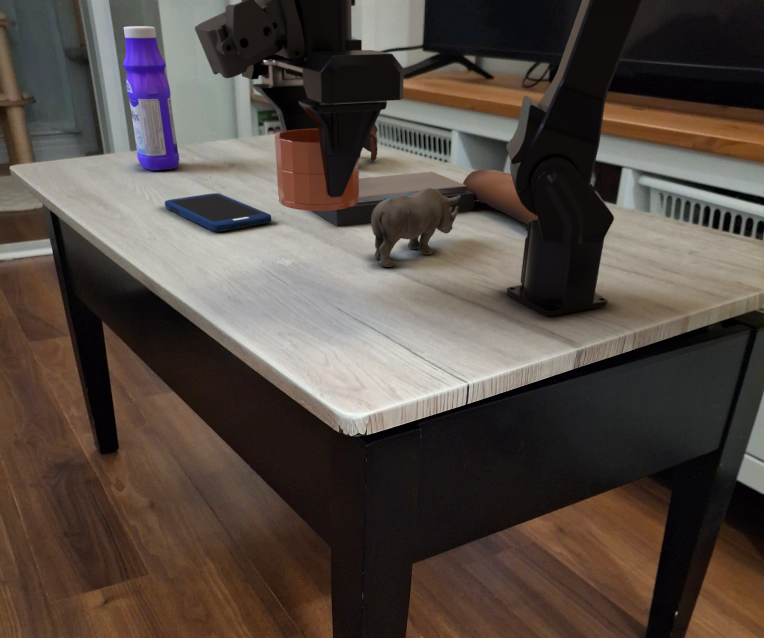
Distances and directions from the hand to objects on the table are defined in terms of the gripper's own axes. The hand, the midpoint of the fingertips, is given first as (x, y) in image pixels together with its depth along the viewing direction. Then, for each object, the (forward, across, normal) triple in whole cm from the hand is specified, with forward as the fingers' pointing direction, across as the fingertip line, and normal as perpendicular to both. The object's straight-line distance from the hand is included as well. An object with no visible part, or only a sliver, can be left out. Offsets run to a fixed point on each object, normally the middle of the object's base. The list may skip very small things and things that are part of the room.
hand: (318, 187), depth 63 cm
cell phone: (+9, -30, -1) cm, 31 cm away
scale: (+9, -25, +19) cm, 32 cm away
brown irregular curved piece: (+9, -50, +25) cm, 57 cm away
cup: (+1, 0, 0) cm, 1 cm away
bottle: (+9, -60, -1) cm, 60 cm away
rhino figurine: (+9, -8, +14) cm, 18 cm away
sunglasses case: (+9, -14, +32) cm, 36 cm away
